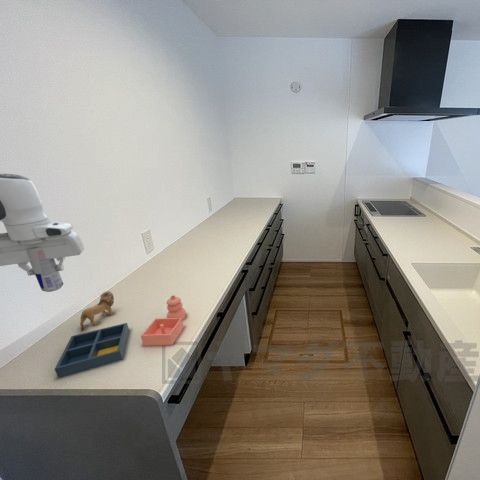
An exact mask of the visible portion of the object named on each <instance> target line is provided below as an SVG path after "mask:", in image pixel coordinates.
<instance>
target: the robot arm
mask: <svg viewBox="0 0 480 480" xmlns="http://www.w3.org/2000/svg"><path fill="white" fill-rule="evenodd" d="M43 208H44V204H43V200H42V198H41V195H40V193H39V191H38V189H37V187H36V185H35V184H34V182H33V181H32V180H31V179H30V178H28V177H27V176H24V175H21V174H20V175H19V174H15V173H14V174H12V173H0V222H2V224H3V226H4V229H5V230H6V232H1V233H0V267H4V266H11V265H17V266H18V268H20V269H21V270H23V271H25V272H26V273H27V276H35V273H34V271H33V268H32V266H31V265H28V264H29V263H30V258H29V256H28V254H27V250H25V249H30V248H37V247H40V248H41V247H43V248H41V249H43V251H44V254H45V257H46V258H47V259H54V260H55V259H56V262H58V263H56V266H55V269H56V271H59V272H61V271H64V270H65V267H64V262H65V260H66V258H69V257H76V256H80V255H81V254H82V253H84V250H85V247H84V244H83V241H82V239H81V238H80V235H79V234H78V233H77V232H76V231H74V230H73V225H72V224H71V223H70V222H65V221H64V222H62V221H55V220H51V219H50V220H49V217H48V215H47V214H46V213H45V212H44V209H43Z"/></svg>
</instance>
